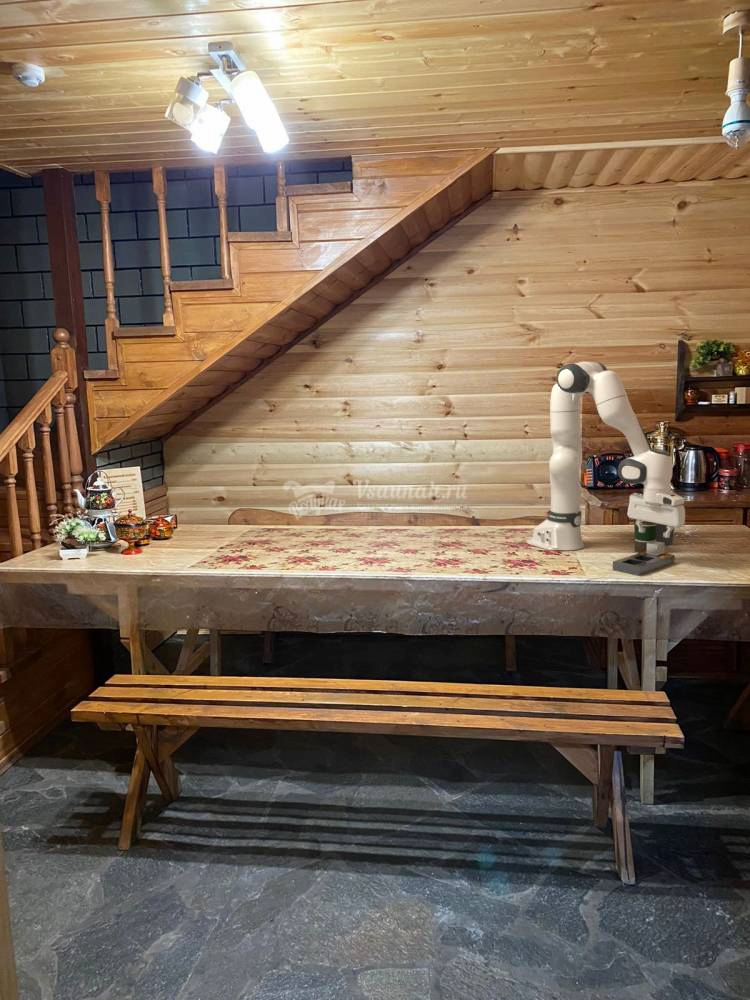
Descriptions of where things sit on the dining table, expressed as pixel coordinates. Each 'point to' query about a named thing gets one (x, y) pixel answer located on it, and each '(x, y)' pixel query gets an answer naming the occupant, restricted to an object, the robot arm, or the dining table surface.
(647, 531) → the beer bottle
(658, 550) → the block
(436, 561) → the dining table surface
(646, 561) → the grey tray
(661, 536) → the storage bin
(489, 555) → the dining table surface
